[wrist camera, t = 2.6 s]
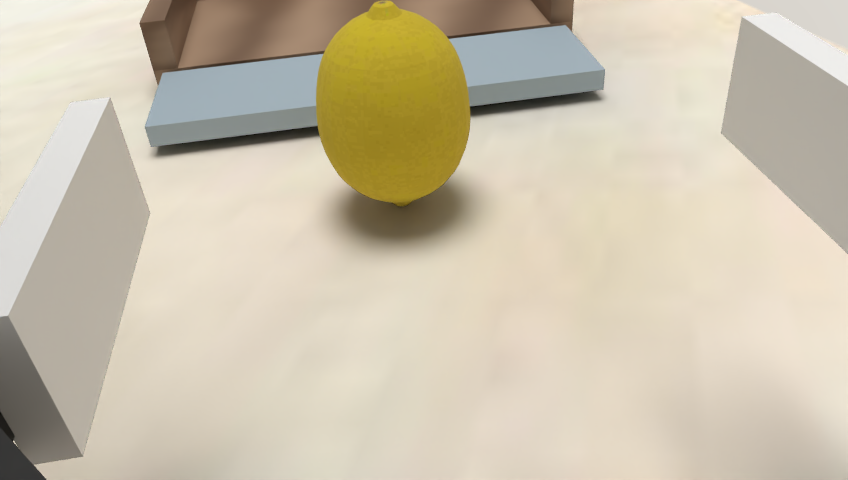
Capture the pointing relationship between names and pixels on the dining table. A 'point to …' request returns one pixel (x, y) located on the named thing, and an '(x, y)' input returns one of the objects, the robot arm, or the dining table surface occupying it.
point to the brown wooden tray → (310, 26)
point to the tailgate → (297, 77)
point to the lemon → (392, 105)
